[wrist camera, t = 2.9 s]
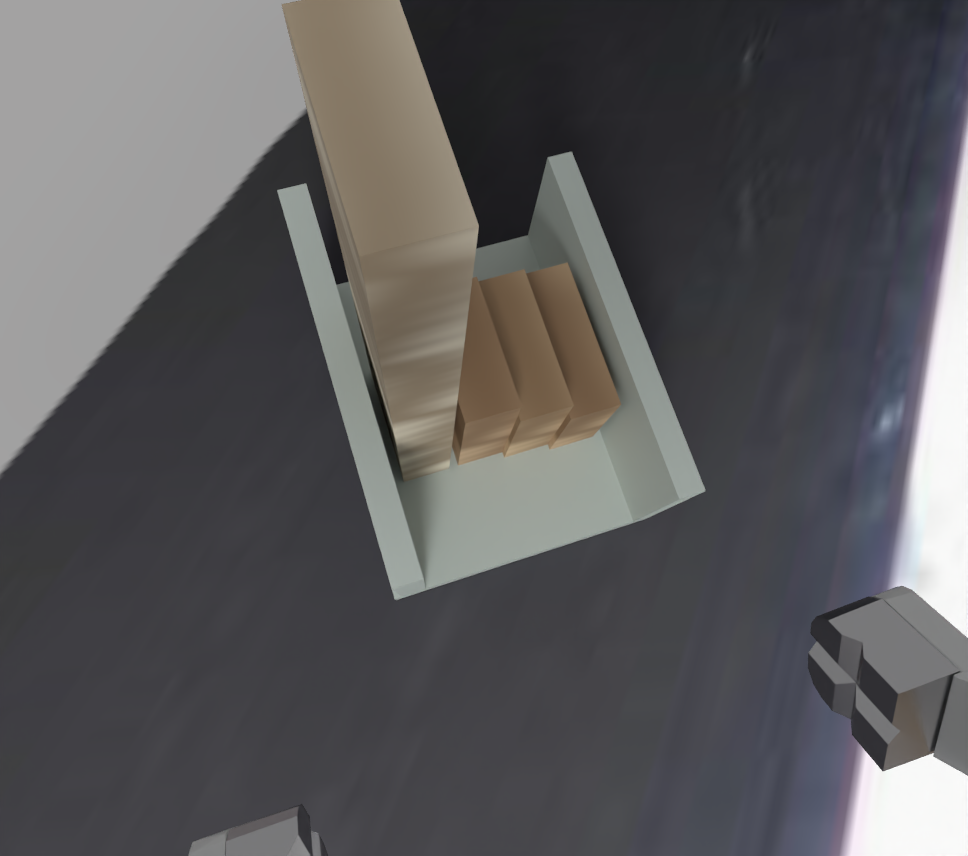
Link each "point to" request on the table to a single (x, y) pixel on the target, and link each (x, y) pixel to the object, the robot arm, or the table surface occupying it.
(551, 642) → the table surface
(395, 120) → the birch board
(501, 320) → the offcut stack
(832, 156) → the table surface
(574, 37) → the table surface
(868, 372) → the table surface
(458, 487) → the offcut rack
